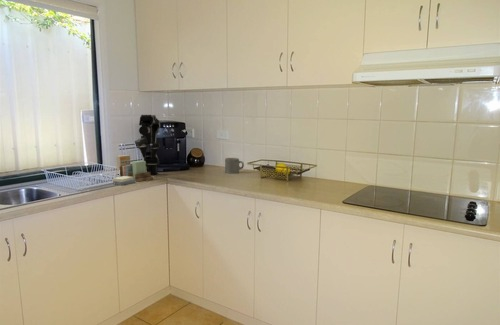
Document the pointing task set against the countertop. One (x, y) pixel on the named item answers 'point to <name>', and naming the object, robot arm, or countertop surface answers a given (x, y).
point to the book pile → (123, 180)
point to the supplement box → (122, 161)
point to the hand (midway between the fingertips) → (148, 158)
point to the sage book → (139, 167)
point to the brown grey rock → (139, 177)
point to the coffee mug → (232, 165)
